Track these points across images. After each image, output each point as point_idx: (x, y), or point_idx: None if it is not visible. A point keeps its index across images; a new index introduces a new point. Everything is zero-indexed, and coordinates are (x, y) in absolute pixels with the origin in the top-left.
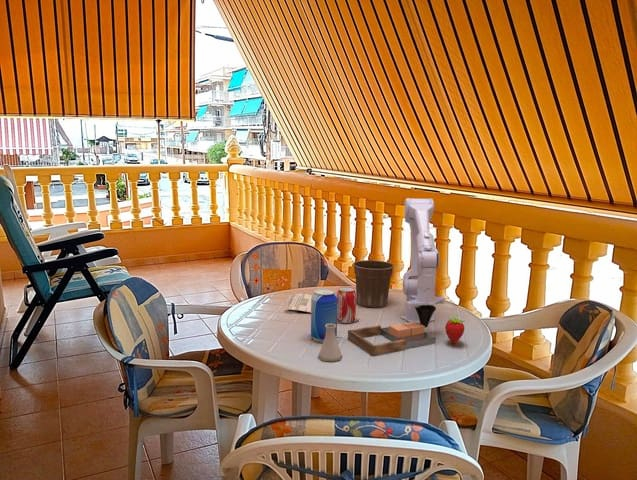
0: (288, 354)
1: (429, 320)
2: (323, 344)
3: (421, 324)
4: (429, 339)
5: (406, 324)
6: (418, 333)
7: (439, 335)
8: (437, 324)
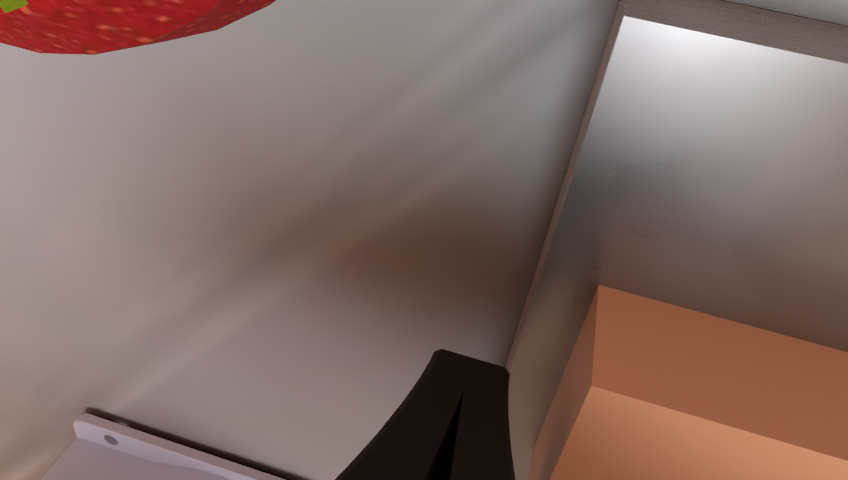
0: None
1: (389, 437)
2: None
3: (567, 452)
4: (801, 48)
5: None
6: (737, 330)
7: (290, 157)
8: (100, 350)
